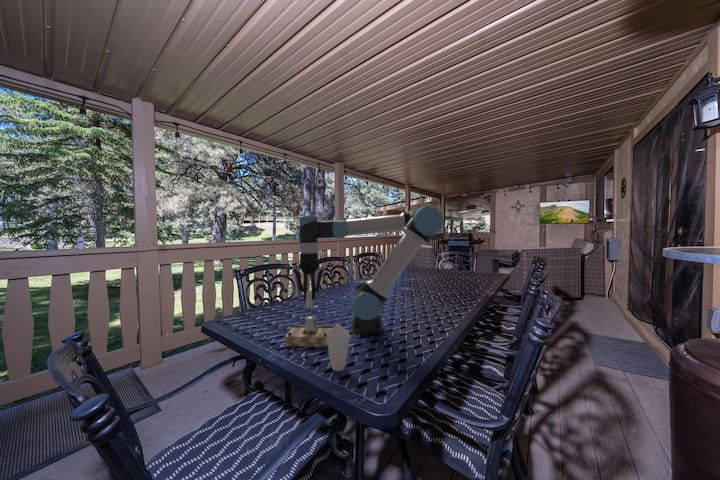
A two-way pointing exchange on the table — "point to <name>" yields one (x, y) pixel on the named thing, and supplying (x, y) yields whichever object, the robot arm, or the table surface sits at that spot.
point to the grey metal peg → (310, 324)
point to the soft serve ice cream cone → (338, 346)
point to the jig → (307, 336)
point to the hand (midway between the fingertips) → (309, 307)
